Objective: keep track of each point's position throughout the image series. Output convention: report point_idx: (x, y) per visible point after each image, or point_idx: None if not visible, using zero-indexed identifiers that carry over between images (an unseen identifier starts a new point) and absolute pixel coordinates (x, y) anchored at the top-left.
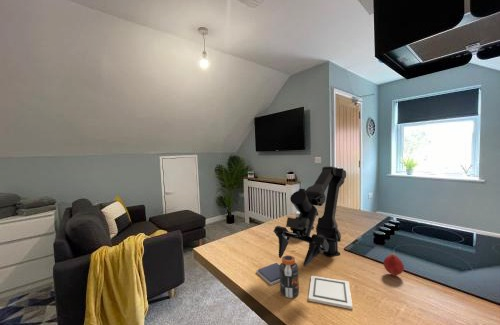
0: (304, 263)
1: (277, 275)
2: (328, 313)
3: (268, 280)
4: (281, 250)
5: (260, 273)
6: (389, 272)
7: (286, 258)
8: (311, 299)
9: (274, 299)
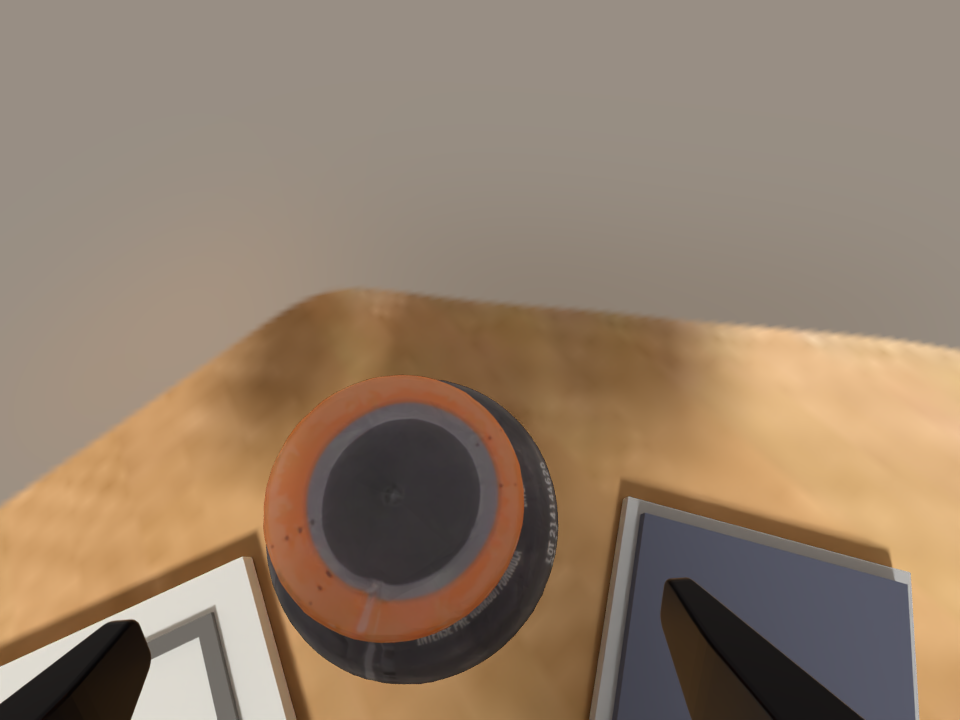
0: (91, 641)
1: None
2: (67, 532)
3: (680, 519)
4: (743, 700)
5: (832, 560)
6: None
7: (407, 442)
8: (220, 569)
9: (482, 385)
